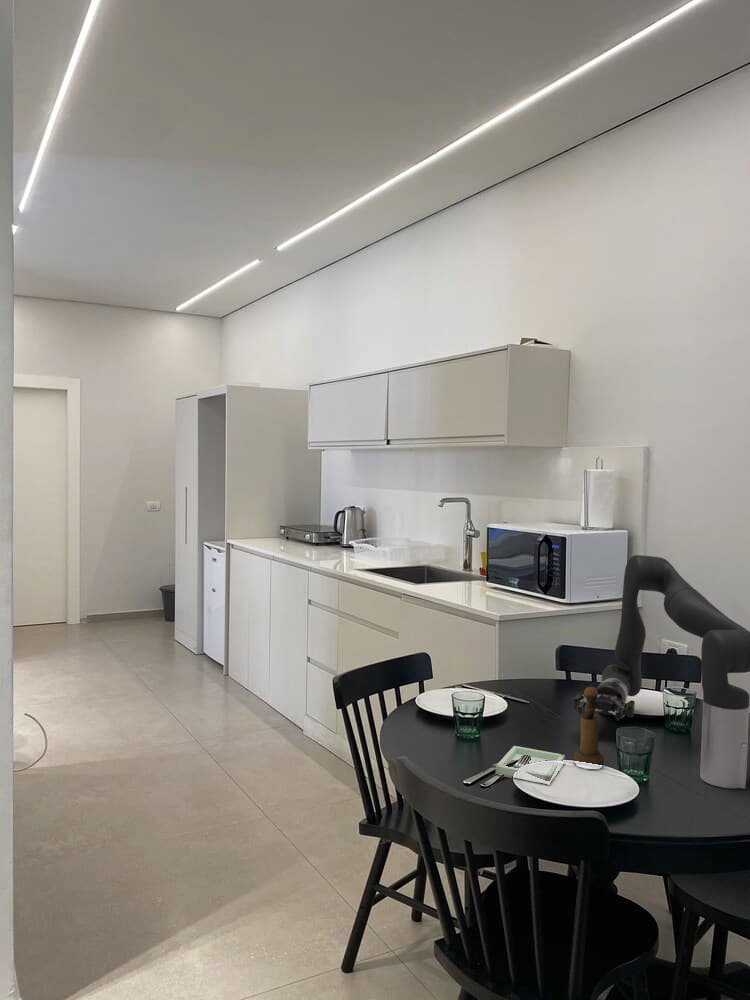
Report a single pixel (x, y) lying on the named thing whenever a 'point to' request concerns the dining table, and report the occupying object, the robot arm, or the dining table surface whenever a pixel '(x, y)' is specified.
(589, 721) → the mortar and pestle
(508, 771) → the tray
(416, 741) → the dining table surface
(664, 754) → the dining table surface
